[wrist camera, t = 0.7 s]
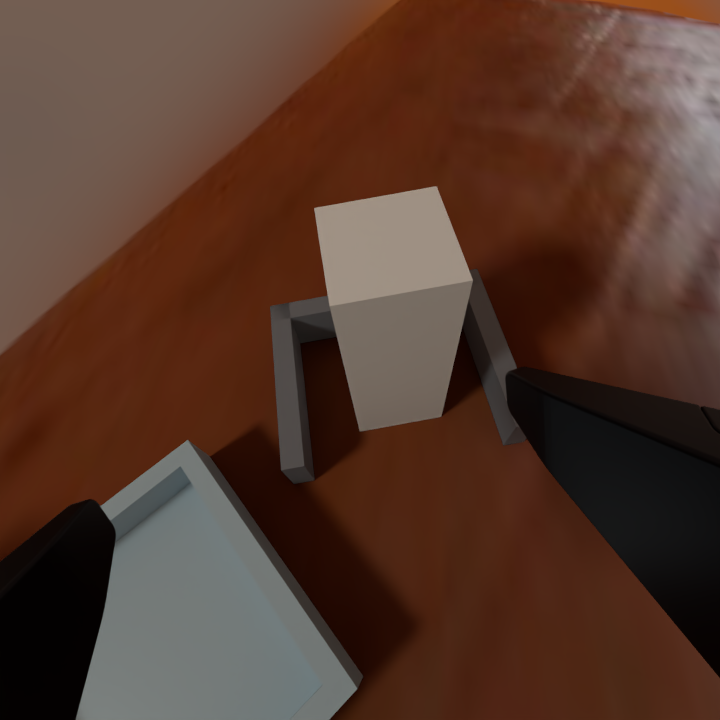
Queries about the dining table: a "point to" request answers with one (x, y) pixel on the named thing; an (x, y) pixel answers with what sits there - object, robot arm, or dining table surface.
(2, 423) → the dining table surface
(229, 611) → the tray
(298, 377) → the bay
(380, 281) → the tall beige block
